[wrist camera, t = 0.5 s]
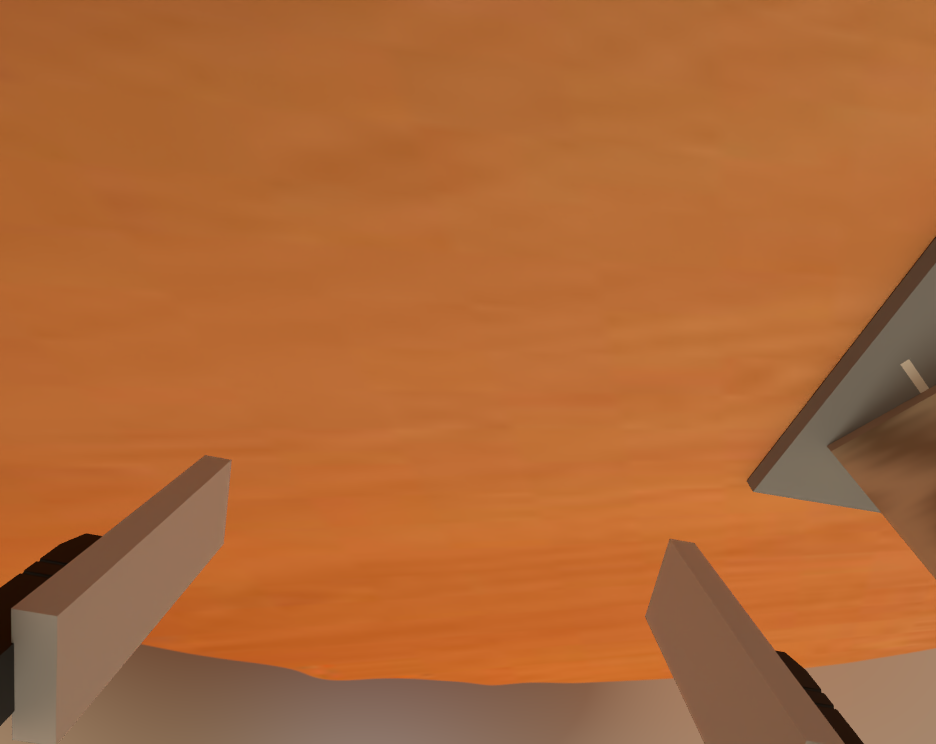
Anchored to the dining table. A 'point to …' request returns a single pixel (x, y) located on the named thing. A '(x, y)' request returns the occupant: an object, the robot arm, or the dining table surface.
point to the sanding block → (899, 470)
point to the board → (858, 395)
